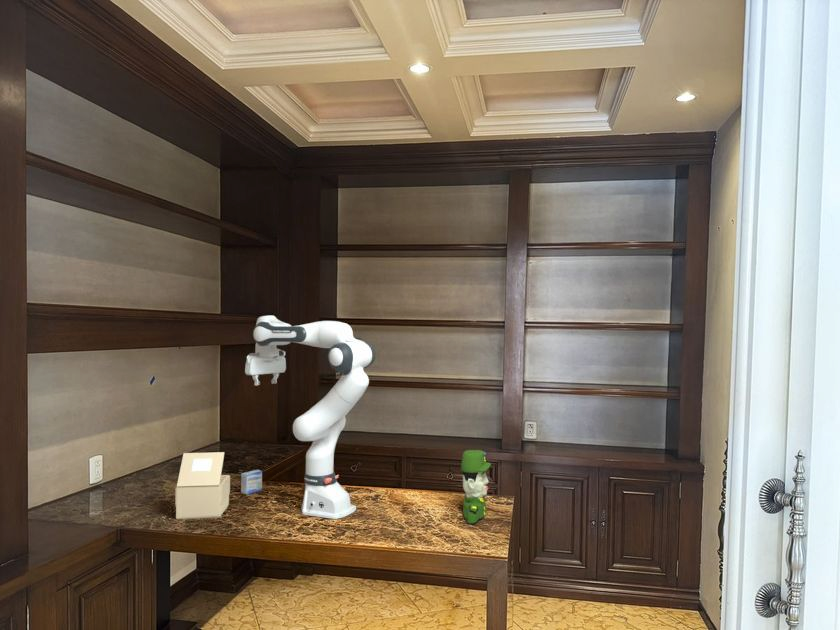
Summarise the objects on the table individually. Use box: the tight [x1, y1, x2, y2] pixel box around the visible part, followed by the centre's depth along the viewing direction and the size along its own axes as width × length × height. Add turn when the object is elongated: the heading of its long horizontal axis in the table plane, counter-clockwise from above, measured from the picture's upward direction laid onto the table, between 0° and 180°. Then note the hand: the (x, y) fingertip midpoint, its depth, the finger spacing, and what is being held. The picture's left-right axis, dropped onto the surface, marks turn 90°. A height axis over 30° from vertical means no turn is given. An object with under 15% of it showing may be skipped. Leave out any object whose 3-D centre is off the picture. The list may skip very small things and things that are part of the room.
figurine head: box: [460, 449, 492, 524], centre depth 205 cm, size 22×12×25 cm, turn 167°
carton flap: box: [176, 451, 225, 487], centre depth 203 cm, size 13×15×1 cm
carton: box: [174, 474, 231, 520], centre depth 207 cm, size 14×17×12 cm
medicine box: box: [240, 469, 263, 495], centre depth 231 cm, size 8×4×9 cm, turn 143°
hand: (265, 384), depth 227 cm, fingers open, 8 cm apart
